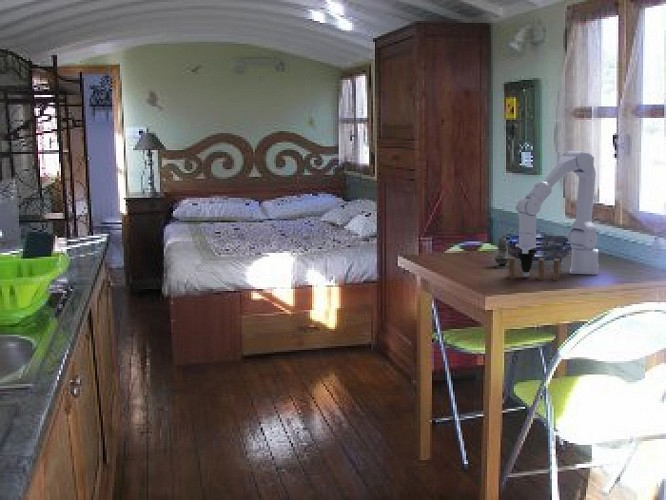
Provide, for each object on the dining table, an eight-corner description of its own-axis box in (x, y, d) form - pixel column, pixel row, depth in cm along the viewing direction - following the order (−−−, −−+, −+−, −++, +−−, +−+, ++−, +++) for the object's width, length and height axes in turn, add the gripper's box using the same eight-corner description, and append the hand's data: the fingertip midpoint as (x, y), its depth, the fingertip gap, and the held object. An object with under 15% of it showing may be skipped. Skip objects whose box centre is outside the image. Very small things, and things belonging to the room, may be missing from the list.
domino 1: (515, 276, 275) (515, 257, 274) (513, 278, 271) (514, 259, 270) (510, 276, 275) (510, 256, 274) (509, 278, 271) (509, 259, 270)
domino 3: (544, 277, 271) (544, 258, 270) (543, 280, 267) (543, 260, 266) (539, 277, 272) (539, 258, 271) (538, 279, 268) (538, 260, 267)
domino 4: (558, 278, 270) (559, 258, 269) (558, 280, 266) (558, 260, 265) (554, 278, 270) (554, 258, 269) (553, 280, 266) (553, 260, 265)
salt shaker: (510, 268, 290) (511, 236, 288) (494, 267, 291) (495, 236, 289) (509, 265, 296) (510, 234, 294) (493, 265, 297) (494, 234, 295)
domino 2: (529, 274, 273) (529, 254, 272) (528, 276, 269) (528, 256, 268) (524, 274, 273) (525, 254, 272) (523, 276, 269) (523, 256, 268)
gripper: (518, 229, 277) (517, 266, 279) (513, 235, 263) (512, 274, 265) (538, 229, 274) (537, 267, 277) (534, 235, 261) (533, 274, 263)
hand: (526, 270), depth 271 cm, fingers closed on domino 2, 4 cm apart
